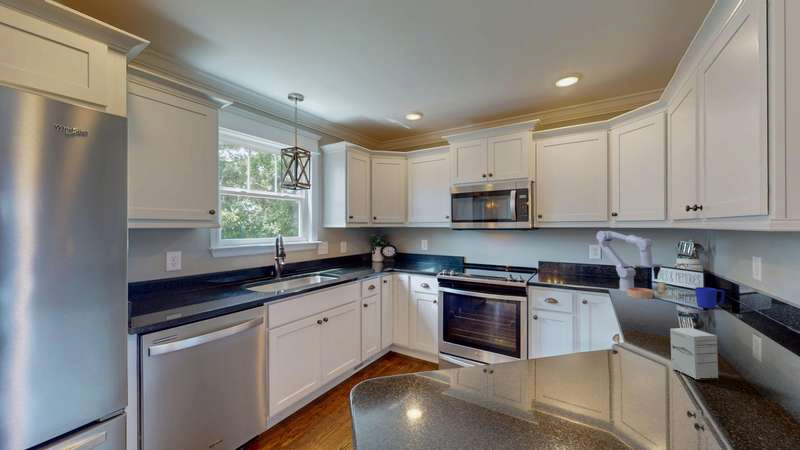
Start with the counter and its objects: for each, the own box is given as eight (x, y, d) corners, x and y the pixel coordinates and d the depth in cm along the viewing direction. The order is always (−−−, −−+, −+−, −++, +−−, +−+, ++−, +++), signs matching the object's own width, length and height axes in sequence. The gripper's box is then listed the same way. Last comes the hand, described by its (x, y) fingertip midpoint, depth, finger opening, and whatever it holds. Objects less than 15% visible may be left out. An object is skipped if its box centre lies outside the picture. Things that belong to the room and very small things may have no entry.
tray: (646, 294, 195) (646, 290, 195) (670, 295, 190) (670, 291, 190) (654, 298, 183) (654, 294, 183) (679, 299, 179) (679, 295, 179)
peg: (657, 295, 189) (656, 282, 190) (665, 295, 188) (664, 282, 188) (659, 296, 186) (658, 283, 186) (667, 296, 184) (666, 283, 184)
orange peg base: (624, 294, 196) (624, 287, 196) (648, 295, 191) (648, 288, 191) (631, 298, 184) (630, 291, 184) (657, 299, 179) (656, 292, 180)
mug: (731, 310, 155) (730, 290, 155) (703, 309, 157) (702, 290, 157) (718, 306, 163) (717, 287, 163) (691, 305, 165) (690, 287, 166)
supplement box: (670, 369, 93) (668, 328, 93) (692, 368, 93) (690, 326, 94) (695, 381, 85) (694, 336, 86) (719, 380, 86) (717, 334, 86)
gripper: (634, 258, 193) (636, 279, 192) (662, 257, 188) (665, 279, 187) (630, 257, 200) (633, 278, 199) (658, 257, 195) (660, 278, 194)
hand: (648, 279), depth 194 cm, fingers open, 7 cm apart
